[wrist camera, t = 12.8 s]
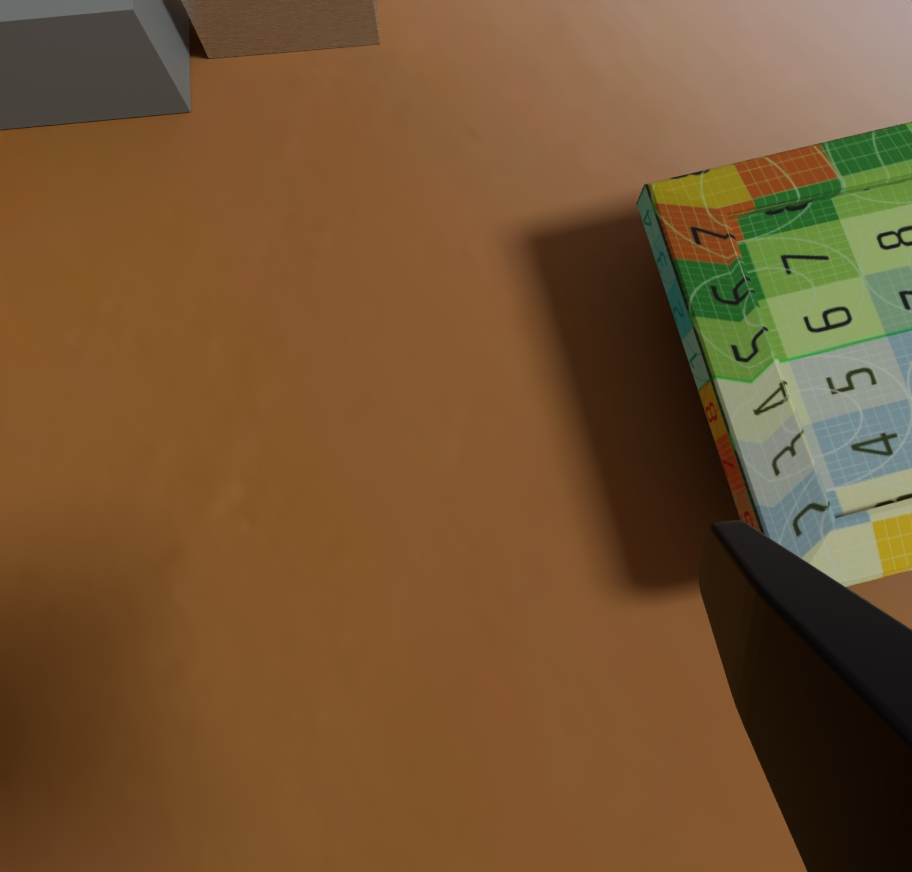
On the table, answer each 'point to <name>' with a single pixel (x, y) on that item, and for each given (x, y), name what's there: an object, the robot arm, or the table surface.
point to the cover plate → (281, 25)
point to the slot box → (92, 60)
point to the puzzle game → (803, 339)
